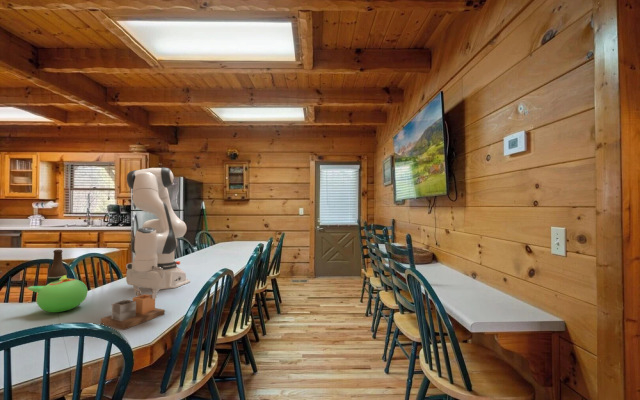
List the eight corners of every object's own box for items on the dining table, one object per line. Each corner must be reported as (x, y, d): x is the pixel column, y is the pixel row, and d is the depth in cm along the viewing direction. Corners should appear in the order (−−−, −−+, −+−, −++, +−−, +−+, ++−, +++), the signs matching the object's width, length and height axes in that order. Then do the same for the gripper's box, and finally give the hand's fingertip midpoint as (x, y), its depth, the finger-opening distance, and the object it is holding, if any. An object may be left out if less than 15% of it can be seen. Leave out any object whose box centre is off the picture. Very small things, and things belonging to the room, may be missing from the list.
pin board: (142, 309, 141) (142, 292, 141) (164, 314, 136) (164, 296, 136) (101, 323, 125) (101, 303, 125) (124, 329, 119) (124, 308, 119)
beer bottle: (44, 300, 152) (45, 251, 153) (50, 295, 159) (51, 249, 160) (63, 298, 155) (64, 250, 156) (69, 294, 163) (70, 248, 163)
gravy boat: (56, 319, 128) (57, 283, 128) (24, 315, 132) (24, 281, 132) (95, 305, 146) (96, 274, 146) (66, 302, 149) (67, 272, 149)
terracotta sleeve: (145, 307, 138) (145, 294, 138) (154, 309, 136) (155, 295, 136) (132, 311, 133) (132, 297, 133) (142, 313, 130) (142, 299, 130)
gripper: (169, 266, 134) (169, 298, 134) (136, 261, 142) (136, 291, 142) (156, 269, 128) (156, 302, 128) (123, 264, 136) (123, 295, 136)
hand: (145, 296), depth 135 cm, fingers open, 8 cm apart
